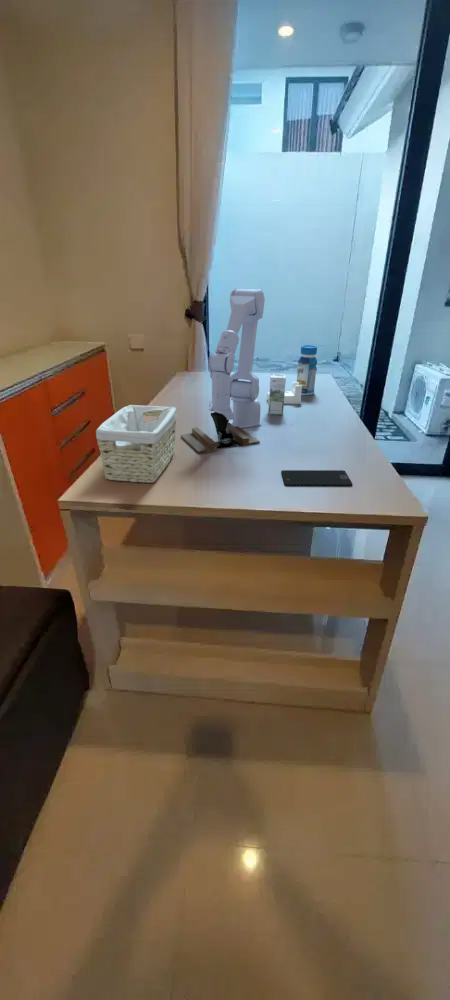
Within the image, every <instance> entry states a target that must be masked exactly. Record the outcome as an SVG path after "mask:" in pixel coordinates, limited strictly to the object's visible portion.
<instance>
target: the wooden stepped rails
mask: <svg viewBox="0 0 450 1000" xmlns="http://www.w3.org/2000/svg"><path fill="white" fill-rule="evenodd" d="M226 430H230V431H231V432H232V435H233V437H234V438H233V440H236V441H237V442H238V443H240V444H241V445H242V446H241V447H247V446H253V445H254V446H255V445H259V444H260V443H261V442H260V440H258V439H257V437H254V436H253V435H251V434H250V433H249V432H248V431H245V429H244V428H240V427H238V426H236V427H234V426H233V425H231V424H230V423H228V424H227V427H226ZM180 437H181V438H182V440H184V441H185V443H186V444H188V445H189V446H190V447H191V448H192V449H193V450H194V451H195V452H196V453H197V454H198V455H201V454H207V453H212V452H214V453H215V452H217V451H218V449H217V443H216V441H215V440H214V439H212V438H211V437H210V436H208V435H207V433H205V432H203V430H201V429H200V428H199V427H192V428H191V432H190V433H183V434H180Z"/></svg>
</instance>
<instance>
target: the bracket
mask: <svg viewBox="0 0 450 1000" xmlns="http://www.w3.org/2000/svg"><path fill="white" fill-rule="evenodd" d="M291 383H292V384H291V390H290V391H286V390H285V395H284V404H285V405H294V404H295V405H296V404H297V405H300V404H301V401H302V400H301V399H302V395H301V392H302V386H299V382H297V381H292V382H291ZM266 393H267V394H266V399H267V402H268V403H269V391H267V392H266Z"/></svg>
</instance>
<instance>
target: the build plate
mask: <svg viewBox="0 0 450 1000" xmlns="http://www.w3.org/2000/svg"><path fill="white" fill-rule="evenodd" d="M233 438H234V437H233V435H232V432H231V431H230V430H225V432H224V431H219V434H218V435H217V441H215V442H216V443H217V450H218V449H226V448H227V449H229V448H235V447H236V448H237V447H243V446H242V445H241V444H240V443H238V442H237V441H236V440H234V439H233Z"/></svg>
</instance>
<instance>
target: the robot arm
mask: <svg viewBox="0 0 450 1000" xmlns="http://www.w3.org/2000/svg"><path fill="white" fill-rule="evenodd" d="M265 299H266V298H265V294H264V292H263V290H262V289H261V288H259V289H258V288H257V289H250V288H249V289H248V288H247V289H246V288H245V289H244V288H242V289H241V288H233V289H232V290H231V292H230V296H229V307H230V309H231V312H230V315H229V319H228V324H227V326H226V330H223V331H222V332H221V334H220V337H219V340H218V341H217V342H218V344H217V345H216V348H215V350H214V352H213V353H211V354H210V355H209V357H208V363H207V368H208V371H209V377H210V379H211V401H208V409H207V410H208V411H209V412H210V417H211V418H212V421H213V423H214V426H215V427H214V428H215V432H216V435H217V436H218V434H219V431H224V432H225V430H226V427H227V424H230V425H231V426H232V427H236V426H238V427H240V428H241V429H246V428H253V427H259V426H261V425H262V424H261V403H260V401H259V399H258V397H259V394H260V393H259V392H260V385H259V383H260V379H259V377H258V376H257V375H256V374H255V373H254V372H253V367H254V357H255V347H256V338H257V330H258V329H257V328H258V323H259V320H260V319H263V314H264V310H265ZM240 329H241V330H240ZM240 331H241V335H240V338H239V336H238V334H239V332H240ZM239 342H240V346H239V355H238V365H237V371H235V372H234V373H232V372H233V371H234V368H235V359H236V356H235V353H236V350H237V347H238V345H239ZM231 373H232V375H231ZM231 401H232V406H231ZM231 407H232V408H231Z"/></svg>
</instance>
